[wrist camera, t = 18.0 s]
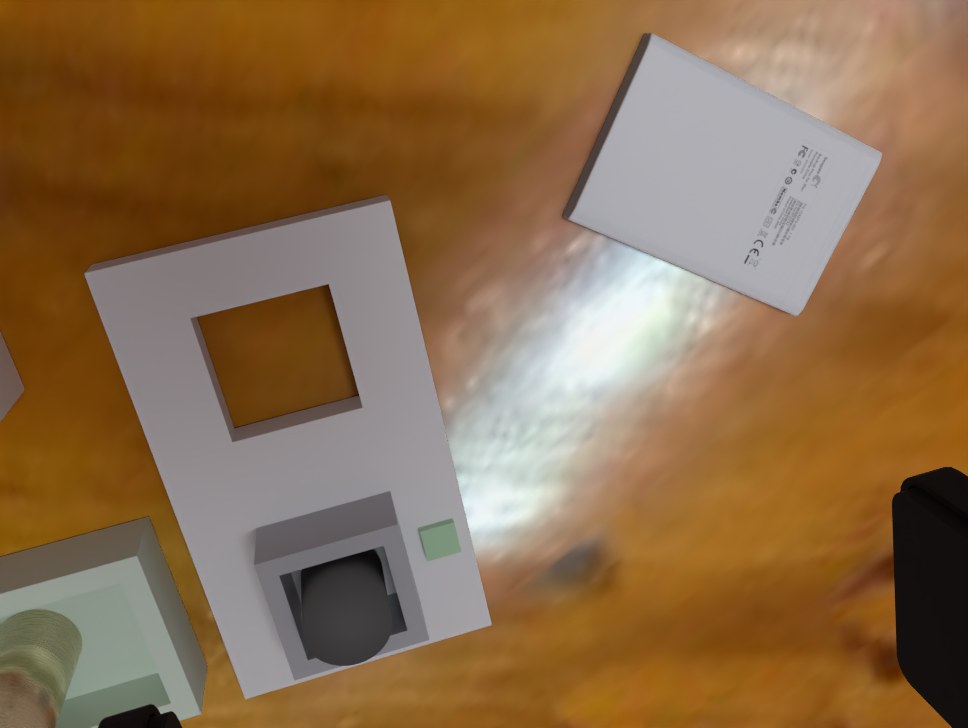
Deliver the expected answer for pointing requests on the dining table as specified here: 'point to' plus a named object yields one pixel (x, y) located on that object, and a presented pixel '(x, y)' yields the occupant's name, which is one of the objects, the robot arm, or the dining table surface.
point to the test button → (345, 609)
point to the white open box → (8, 380)
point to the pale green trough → (113, 621)
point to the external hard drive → (721, 177)
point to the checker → (297, 437)
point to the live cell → (36, 667)
